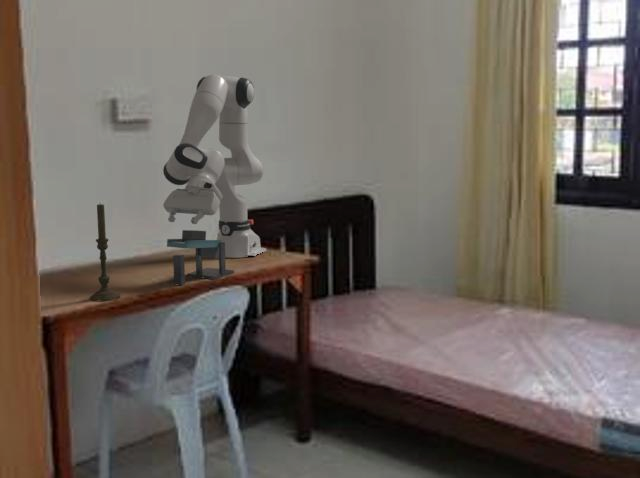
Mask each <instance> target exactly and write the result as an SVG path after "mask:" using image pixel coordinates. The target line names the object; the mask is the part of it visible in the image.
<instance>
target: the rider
mask: <svg viewBox="0 0 640 478" xmlns="http://www.w3.org/2000/svg"><path fill="white" fill-rule="evenodd" d="M181 235H182V236H181V239H182V242H185V241H193V240H207V231H206V230H197V229H193V230H192V229H191V230H190V229H189V230H187V229H186V230H185V229H182V234H181Z"/></svg>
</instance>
